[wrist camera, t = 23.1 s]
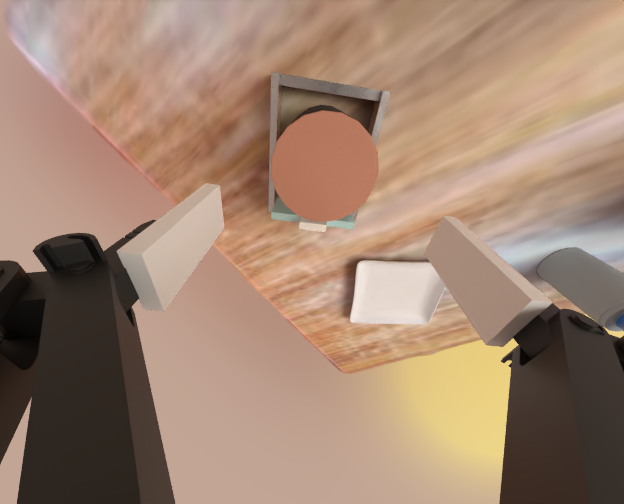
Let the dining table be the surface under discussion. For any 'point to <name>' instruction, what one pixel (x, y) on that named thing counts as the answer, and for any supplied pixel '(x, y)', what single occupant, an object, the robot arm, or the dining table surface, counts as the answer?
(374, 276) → the salad plate
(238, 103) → the dining table surface
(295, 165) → the coffee jar
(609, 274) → the spray bottle
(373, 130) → the open-ended rimmed tray
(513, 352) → the robot arm
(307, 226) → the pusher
